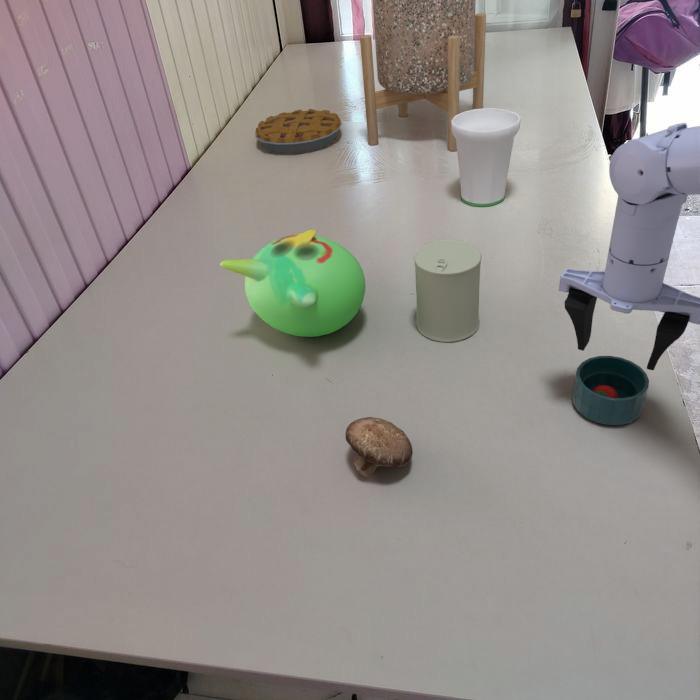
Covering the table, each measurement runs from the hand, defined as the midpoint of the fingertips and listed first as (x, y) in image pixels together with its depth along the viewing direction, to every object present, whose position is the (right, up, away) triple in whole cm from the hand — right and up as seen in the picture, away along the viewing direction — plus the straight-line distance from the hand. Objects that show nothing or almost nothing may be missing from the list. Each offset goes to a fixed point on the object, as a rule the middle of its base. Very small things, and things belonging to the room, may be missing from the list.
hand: (616, 354), depth 73 cm
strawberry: (+1, -5, +4) cm, 7 cm away
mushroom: (-27, -13, +2) cm, 30 cm away
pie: (-43, +53, +87) cm, 111 cm away
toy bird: (-37, +4, +24) cm, 44 cm away
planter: (-12, +54, +83) cm, 100 cm away
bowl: (+1, -6, +5) cm, 8 cm away
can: (-16, +4, +21) cm, 27 cm away
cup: (-4, +30, +52) cm, 61 cm away
